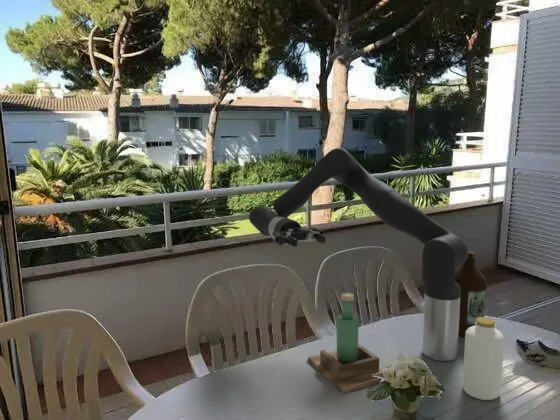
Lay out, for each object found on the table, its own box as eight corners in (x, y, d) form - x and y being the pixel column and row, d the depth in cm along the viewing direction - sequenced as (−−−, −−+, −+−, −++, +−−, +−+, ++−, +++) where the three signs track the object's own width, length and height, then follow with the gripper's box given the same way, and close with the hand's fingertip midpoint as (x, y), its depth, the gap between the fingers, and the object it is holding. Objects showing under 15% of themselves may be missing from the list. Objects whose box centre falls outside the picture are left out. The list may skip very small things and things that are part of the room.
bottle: (343, 358, 127) (343, 290, 124) (362, 364, 123) (362, 293, 120) (332, 367, 122) (332, 296, 119) (352, 372, 119) (352, 300, 116)
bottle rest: (307, 360, 128) (307, 344, 127) (351, 349, 134) (351, 334, 133) (343, 393, 112) (343, 375, 111) (391, 379, 118) (391, 362, 117)
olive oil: (439, 328, 148) (443, 250, 143) (464, 322, 152) (469, 246, 148) (465, 341, 138) (469, 259, 134) (491, 334, 142) (497, 254, 138)
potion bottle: (504, 404, 107) (509, 329, 104) (465, 400, 108) (469, 326, 105) (495, 384, 115) (500, 314, 112) (459, 381, 116) (463, 312, 113)
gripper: (262, 220, 139) (286, 230, 124) (305, 215, 144) (332, 225, 130) (263, 244, 140) (286, 258, 125) (305, 239, 146) (332, 251, 131)
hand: (310, 241), depth 128 cm, fingers open, 8 cm apart
